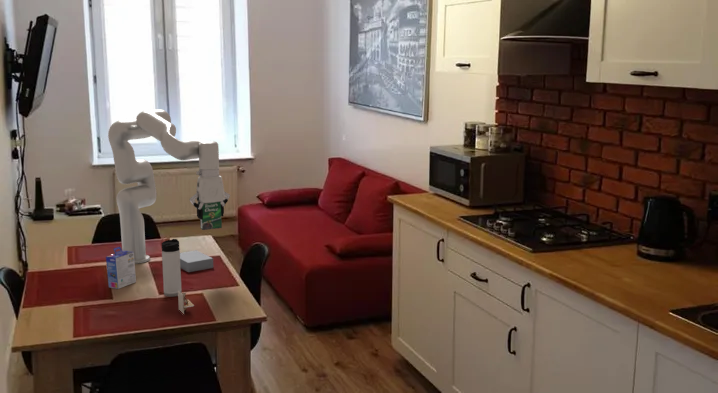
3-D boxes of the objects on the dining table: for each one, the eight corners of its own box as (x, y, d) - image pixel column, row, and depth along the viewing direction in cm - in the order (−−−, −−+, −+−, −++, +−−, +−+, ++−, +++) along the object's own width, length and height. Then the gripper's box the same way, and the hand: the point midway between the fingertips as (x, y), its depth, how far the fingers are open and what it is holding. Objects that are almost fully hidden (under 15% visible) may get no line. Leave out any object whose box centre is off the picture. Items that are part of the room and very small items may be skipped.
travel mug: (185, 292, 268) (183, 239, 264) (175, 297, 262) (172, 243, 258) (170, 290, 270) (168, 238, 266) (160, 295, 264) (157, 242, 260)
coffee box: (201, 230, 282) (200, 197, 280) (199, 228, 285) (198, 195, 282) (222, 228, 286) (221, 195, 283) (220, 226, 288) (219, 194, 286)
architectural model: (188, 309, 251) (187, 288, 250) (194, 315, 245) (193, 294, 244) (178, 311, 250) (177, 290, 248) (184, 317, 244) (183, 296, 242)
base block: (188, 272, 293) (188, 262, 292) (172, 263, 305) (171, 254, 304) (213, 267, 299) (213, 258, 299) (196, 259, 312) (196, 250, 311)
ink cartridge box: (125, 280, 282) (123, 244, 280) (136, 282, 280) (134, 245, 277) (107, 287, 273) (104, 250, 271) (118, 289, 271) (116, 251, 268)
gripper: (192, 176, 273) (194, 222, 276) (234, 172, 283) (235, 216, 286) (184, 173, 279) (185, 218, 282) (225, 170, 289) (226, 212, 292)
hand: (210, 217), depth 284 cm, fingers closed on coffee box, 8 cm apart
